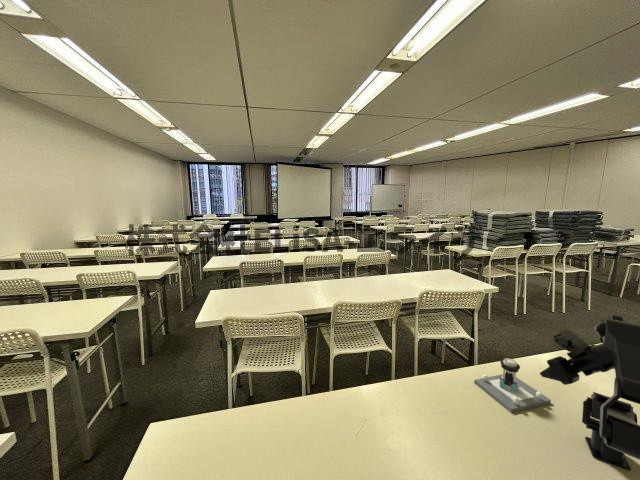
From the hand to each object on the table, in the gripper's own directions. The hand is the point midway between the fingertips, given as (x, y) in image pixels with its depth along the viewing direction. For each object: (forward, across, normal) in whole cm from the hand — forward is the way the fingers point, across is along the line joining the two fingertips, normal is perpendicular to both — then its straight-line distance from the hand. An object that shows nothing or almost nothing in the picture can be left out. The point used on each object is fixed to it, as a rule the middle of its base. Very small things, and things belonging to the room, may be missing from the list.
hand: (550, 371), depth 77 cm
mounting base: (+16, +2, +3) cm, 17 cm away
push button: (+16, +2, +2) cm, 16 cm away
